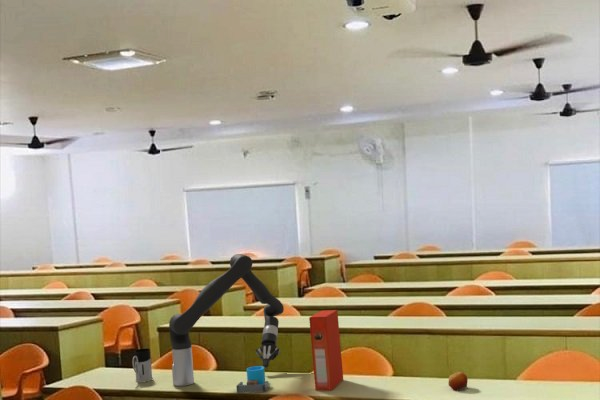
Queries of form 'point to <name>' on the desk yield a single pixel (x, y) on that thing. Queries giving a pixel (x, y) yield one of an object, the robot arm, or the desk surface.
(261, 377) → the mug
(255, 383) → the tile
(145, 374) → the grey handled cylinder
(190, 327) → the robot arm
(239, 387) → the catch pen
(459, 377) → the fruit
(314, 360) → the file binder
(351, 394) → the desk surface
